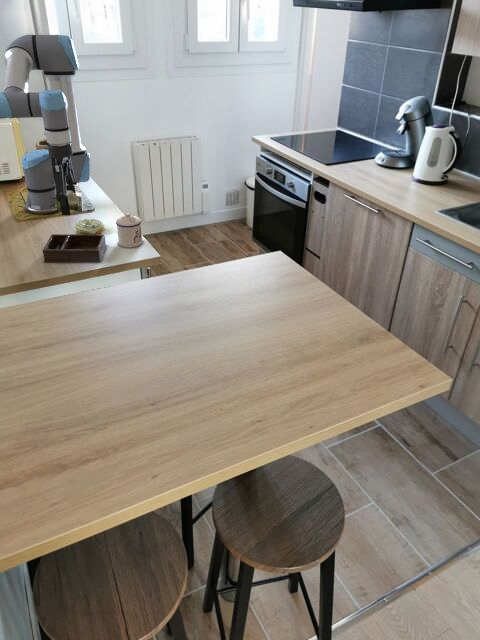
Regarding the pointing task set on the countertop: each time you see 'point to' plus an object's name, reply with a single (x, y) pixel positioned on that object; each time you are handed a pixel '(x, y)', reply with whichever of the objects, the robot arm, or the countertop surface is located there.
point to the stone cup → (42, 145)
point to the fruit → (71, 202)
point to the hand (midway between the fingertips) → (69, 209)
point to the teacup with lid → (129, 231)
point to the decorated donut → (89, 227)
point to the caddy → (74, 248)
